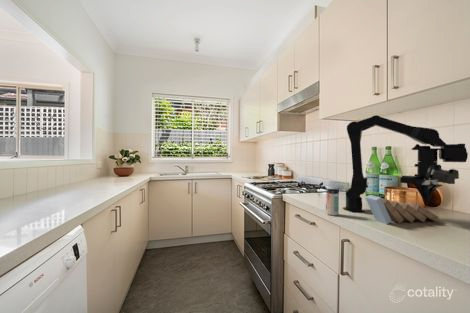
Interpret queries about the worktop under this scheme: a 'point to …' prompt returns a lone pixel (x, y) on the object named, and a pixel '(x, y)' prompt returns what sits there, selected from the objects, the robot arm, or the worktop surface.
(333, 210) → the beer can
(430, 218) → the domino
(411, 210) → the domino
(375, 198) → the slate domino
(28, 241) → the worktop surface
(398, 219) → the domino
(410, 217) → the domino
